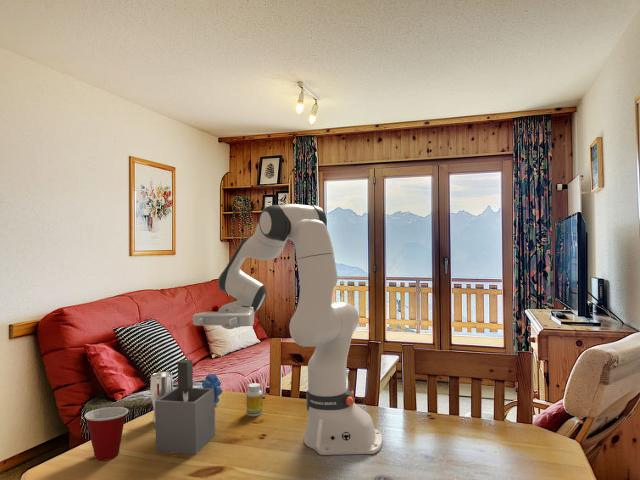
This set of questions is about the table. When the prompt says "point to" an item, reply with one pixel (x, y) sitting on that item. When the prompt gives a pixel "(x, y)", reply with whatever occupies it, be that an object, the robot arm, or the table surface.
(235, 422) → the table surface
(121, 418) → the plastic cup
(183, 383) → the plunger
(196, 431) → the box
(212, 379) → the grapes
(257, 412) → the supplement bottle
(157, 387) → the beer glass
